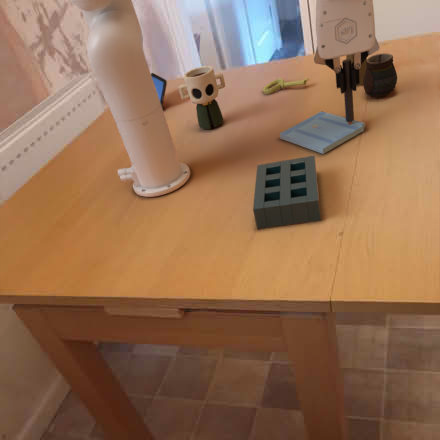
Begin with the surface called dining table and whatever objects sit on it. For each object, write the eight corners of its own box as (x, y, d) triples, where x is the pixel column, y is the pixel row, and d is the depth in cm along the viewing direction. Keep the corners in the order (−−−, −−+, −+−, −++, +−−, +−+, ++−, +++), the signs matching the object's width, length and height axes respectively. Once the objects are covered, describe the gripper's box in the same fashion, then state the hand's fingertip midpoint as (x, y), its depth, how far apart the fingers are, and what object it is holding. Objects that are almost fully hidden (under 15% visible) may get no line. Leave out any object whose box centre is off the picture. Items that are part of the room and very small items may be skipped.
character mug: (191, 137, 115) (176, 83, 106) (190, 126, 120) (175, 73, 112) (235, 124, 114) (222, 69, 106) (231, 114, 120) (219, 60, 111)
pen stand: (257, 229, 80) (252, 209, 77) (260, 183, 90) (257, 164, 88) (321, 220, 77) (318, 199, 75) (316, 174, 88) (314, 155, 85)
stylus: (346, 128, 97) (342, 62, 89) (345, 125, 98) (341, 60, 90) (354, 126, 97) (351, 61, 88) (353, 123, 98) (350, 58, 90)
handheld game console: (127, 110, 141) (118, 85, 136) (159, 97, 143) (151, 71, 138) (140, 120, 132) (131, 94, 127) (175, 106, 134) (167, 79, 129)
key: (307, 89, 120) (306, 80, 118) (261, 95, 124) (259, 87, 123) (312, 78, 124) (311, 70, 123) (267, 84, 129) (265, 76, 128)
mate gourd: (392, 85, 109) (392, 39, 103) (401, 97, 104) (402, 48, 97) (360, 92, 111) (359, 47, 104) (367, 104, 105) (366, 57, 98)
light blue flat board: (367, 129, 96) (367, 123, 96) (323, 154, 93) (322, 148, 92) (321, 116, 106) (321, 110, 105) (280, 138, 102) (279, 133, 102)
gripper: (296, -2, 80) (308, 105, 92) (393, -26, 76) (393, 88, 88) (295, -11, 85) (307, 90, 97) (386, -34, 82) (387, 74, 94)
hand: (348, 89), depth 93 cm, fingers closed on stylus, 1 cm apart
